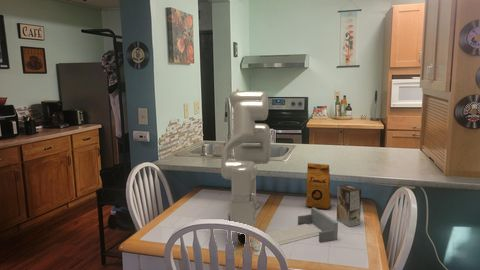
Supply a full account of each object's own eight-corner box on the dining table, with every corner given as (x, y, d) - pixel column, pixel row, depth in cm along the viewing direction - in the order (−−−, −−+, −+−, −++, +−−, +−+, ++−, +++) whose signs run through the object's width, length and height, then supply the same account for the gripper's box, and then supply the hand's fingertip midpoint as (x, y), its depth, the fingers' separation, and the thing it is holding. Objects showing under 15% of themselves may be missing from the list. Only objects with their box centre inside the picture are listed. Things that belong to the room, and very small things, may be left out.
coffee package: (328, 211, 175) (329, 167, 171) (303, 207, 180) (304, 164, 177) (332, 205, 184) (334, 162, 180) (308, 201, 189) (309, 160, 186)
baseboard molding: (323, 237, 148) (305, 227, 159) (323, 230, 148) (305, 220, 159) (257, 254, 135) (242, 241, 145) (257, 247, 134) (242, 235, 145)
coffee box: (360, 224, 159) (362, 189, 157) (349, 227, 157) (350, 191, 154) (346, 217, 167) (348, 183, 165) (335, 219, 165) (336, 185, 162)
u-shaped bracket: (297, 224, 160) (298, 209, 159) (313, 222, 162) (314, 207, 161) (319, 242, 143) (320, 225, 142) (337, 239, 145) (338, 222, 144)
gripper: (256, 192, 145) (256, 235, 148) (220, 196, 140) (221, 241, 143) (263, 198, 138) (263, 243, 141) (225, 203, 133) (226, 249, 136)
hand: (242, 242), depth 142 cm, fingers closed
